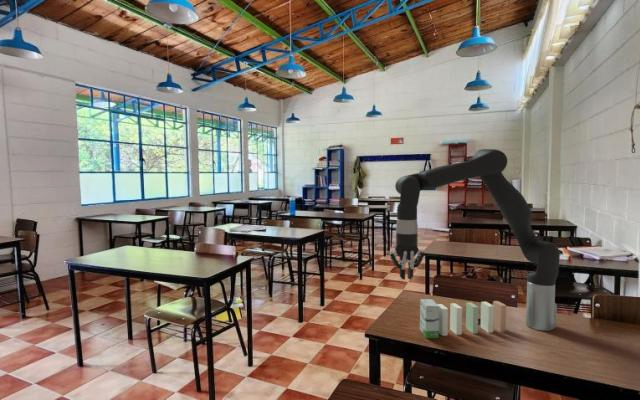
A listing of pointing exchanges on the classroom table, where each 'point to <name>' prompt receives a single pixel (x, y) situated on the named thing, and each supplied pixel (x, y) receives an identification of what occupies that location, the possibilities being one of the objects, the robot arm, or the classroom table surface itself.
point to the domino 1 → (443, 320)
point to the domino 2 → (456, 318)
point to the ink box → (429, 318)
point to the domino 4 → (487, 316)
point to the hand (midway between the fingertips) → (406, 278)
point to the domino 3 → (472, 317)
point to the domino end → (499, 316)
